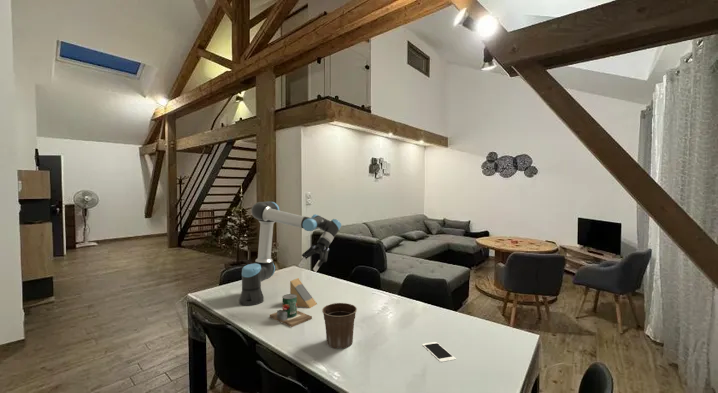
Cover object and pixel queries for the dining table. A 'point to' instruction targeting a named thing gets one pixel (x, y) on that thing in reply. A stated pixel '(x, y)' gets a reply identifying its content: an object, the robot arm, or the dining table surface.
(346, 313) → the plant pot
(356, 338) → the dining table surface
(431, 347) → the cell phone
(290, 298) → the canned tomato
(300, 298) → the sandwich container
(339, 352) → the dining table surface
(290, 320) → the walnut board
